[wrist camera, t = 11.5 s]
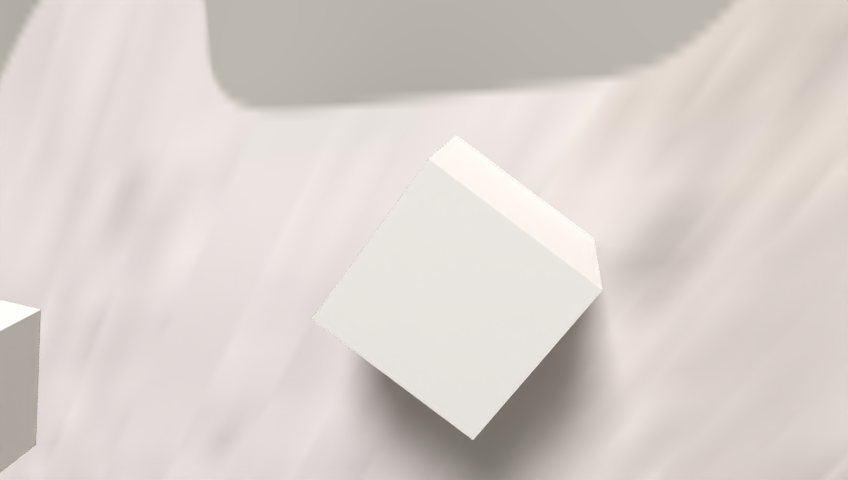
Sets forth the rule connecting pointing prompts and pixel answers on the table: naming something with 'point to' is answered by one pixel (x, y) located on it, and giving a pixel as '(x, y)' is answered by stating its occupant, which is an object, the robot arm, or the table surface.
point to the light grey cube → (464, 287)
